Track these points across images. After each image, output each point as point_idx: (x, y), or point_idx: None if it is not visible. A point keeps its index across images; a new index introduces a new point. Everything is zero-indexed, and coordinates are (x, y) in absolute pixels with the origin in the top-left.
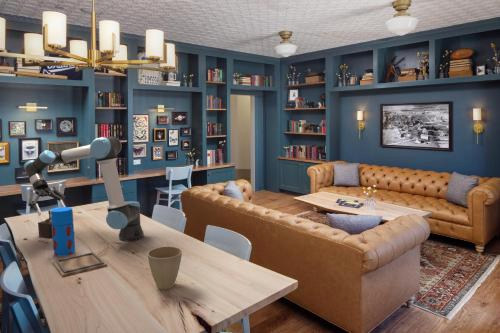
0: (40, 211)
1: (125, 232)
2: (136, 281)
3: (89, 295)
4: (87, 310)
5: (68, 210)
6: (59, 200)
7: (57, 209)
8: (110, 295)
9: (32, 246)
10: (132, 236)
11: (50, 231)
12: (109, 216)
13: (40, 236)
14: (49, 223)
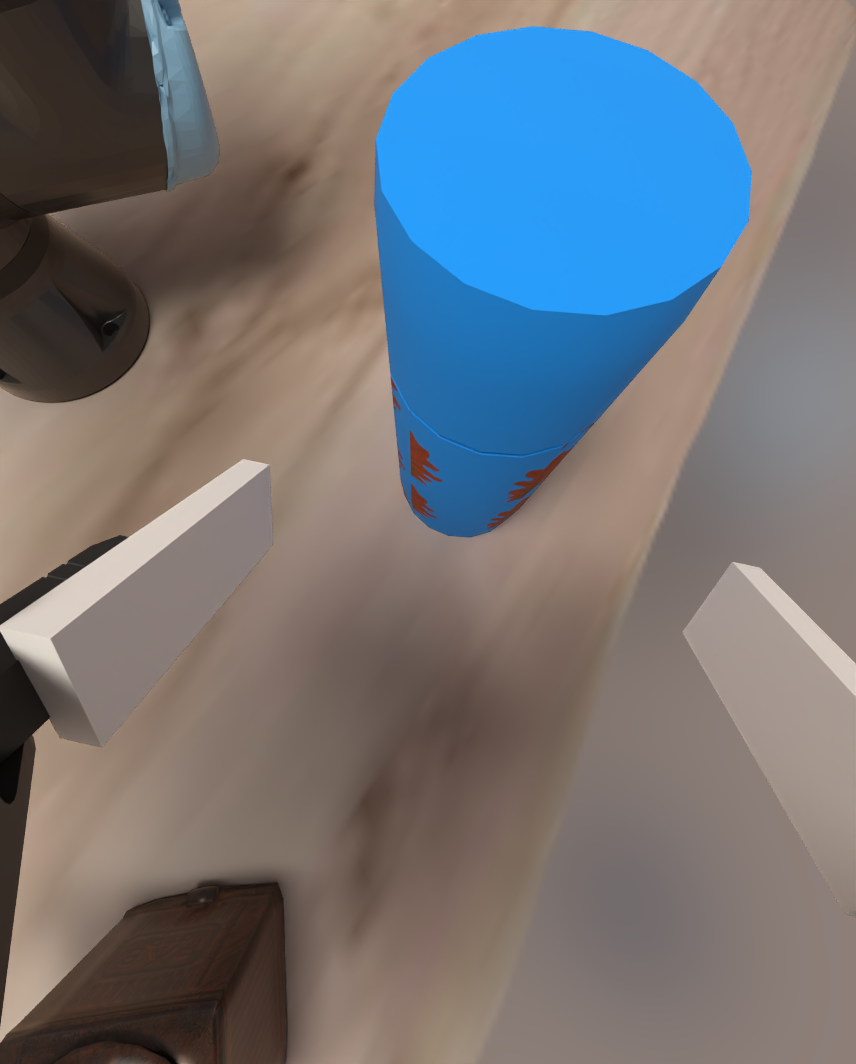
0: (759, 585)
1: (96, 270)
2: (536, 6)
3: (696, 60)
4: (755, 10)
5: (541, 33)
6: (14, 779)
7: (616, 207)
8: (656, 13)
9: (485, 818)
10: (107, 256)
11: (254, 931)
12: (178, 3)
13: (285, 1038)
14: (198, 1039)
